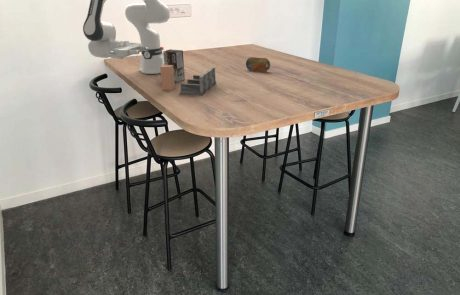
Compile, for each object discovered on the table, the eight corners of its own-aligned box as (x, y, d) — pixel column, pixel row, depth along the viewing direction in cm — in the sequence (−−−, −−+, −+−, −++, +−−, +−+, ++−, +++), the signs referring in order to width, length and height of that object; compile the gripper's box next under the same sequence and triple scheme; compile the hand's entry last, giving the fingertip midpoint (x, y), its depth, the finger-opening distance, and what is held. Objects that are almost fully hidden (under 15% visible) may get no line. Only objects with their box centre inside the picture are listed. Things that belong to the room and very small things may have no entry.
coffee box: (185, 79, 209) (183, 50, 202) (178, 82, 204) (176, 52, 197) (172, 77, 213) (170, 48, 207) (165, 80, 208) (162, 50, 202)
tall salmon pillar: (166, 87, 195) (163, 64, 190) (174, 88, 193) (173, 65, 188) (162, 89, 191) (160, 66, 186) (171, 90, 190) (169, 67, 184)
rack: (195, 82, 203) (194, 66, 199) (216, 83, 200) (215, 67, 196) (180, 93, 185) (178, 75, 181) (203, 95, 182) (202, 76, 178)
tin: (245, 70, 227) (245, 56, 223) (247, 69, 229) (247, 55, 225) (268, 73, 220) (269, 58, 217) (270, 72, 223) (271, 57, 219)
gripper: (106, 46, 180) (132, 47, 176) (128, 40, 198) (151, 41, 194) (108, 59, 182) (133, 60, 179) (129, 52, 200) (152, 53, 197)
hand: (143, 50), depth 187 cm, fingers open, 8 cm apart
